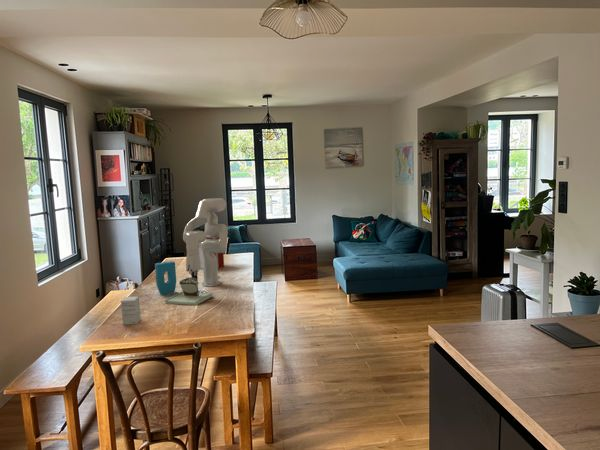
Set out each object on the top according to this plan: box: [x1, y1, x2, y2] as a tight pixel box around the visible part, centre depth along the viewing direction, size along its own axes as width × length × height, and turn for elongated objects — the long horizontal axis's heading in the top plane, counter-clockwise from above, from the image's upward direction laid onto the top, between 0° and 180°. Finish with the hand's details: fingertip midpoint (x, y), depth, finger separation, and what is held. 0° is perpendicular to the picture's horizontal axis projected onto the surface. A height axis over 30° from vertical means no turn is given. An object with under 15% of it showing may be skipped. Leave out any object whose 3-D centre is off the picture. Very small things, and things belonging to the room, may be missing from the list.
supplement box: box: [120, 295, 141, 325], centre depth 229 cm, size 7×7×13 cm
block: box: [154, 261, 177, 296], centre depth 284 cm, size 12×5×20 cm, turn 123°
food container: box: [178, 276, 200, 297], centre depth 271 cm, size 12×6×10 cm, turn 73°
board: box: [164, 291, 213, 306], centre depth 268 cm, size 19×21×2 cm
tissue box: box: [199, 237, 225, 271], centre depth 360 cm, size 16×18×27 cm
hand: (194, 281), depth 274 cm, fingers closed
